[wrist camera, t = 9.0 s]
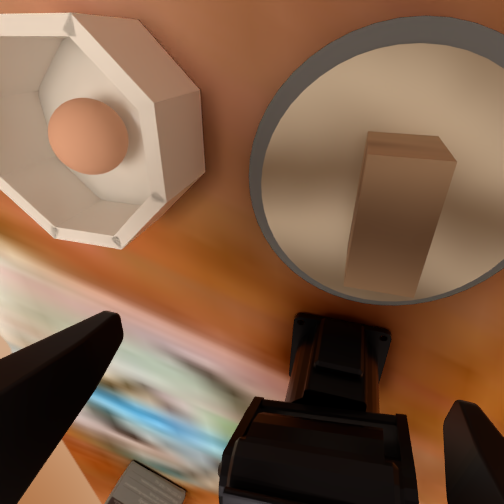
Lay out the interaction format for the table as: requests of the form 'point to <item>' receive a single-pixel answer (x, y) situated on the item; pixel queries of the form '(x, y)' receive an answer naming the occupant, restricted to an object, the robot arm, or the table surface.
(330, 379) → the robot arm
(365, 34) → the mat
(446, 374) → the table surface
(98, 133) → the ball
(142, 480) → the skincare box
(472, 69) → the lid
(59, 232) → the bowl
